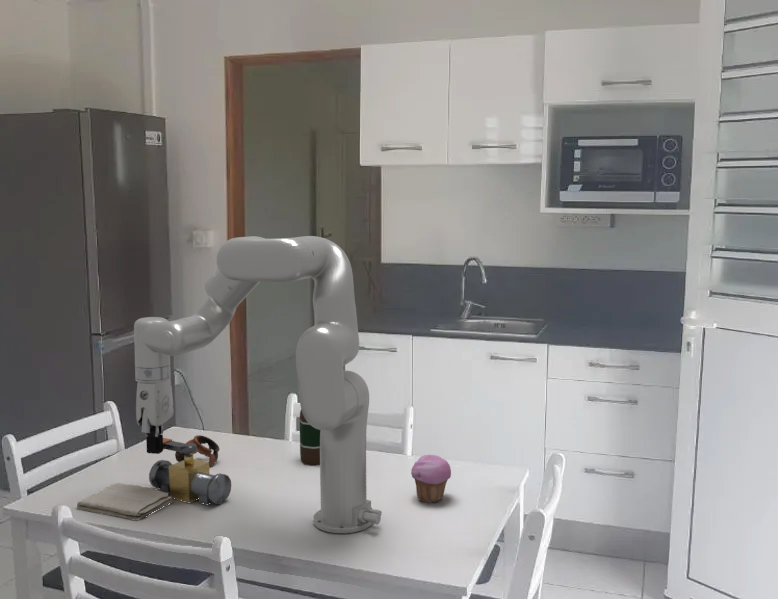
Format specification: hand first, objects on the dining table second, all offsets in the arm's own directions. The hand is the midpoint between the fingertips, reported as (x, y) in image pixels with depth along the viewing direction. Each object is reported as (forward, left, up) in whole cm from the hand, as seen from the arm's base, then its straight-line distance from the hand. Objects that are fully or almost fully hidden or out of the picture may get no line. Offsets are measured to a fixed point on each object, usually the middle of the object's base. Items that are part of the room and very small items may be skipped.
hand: (155, 452), depth 173 cm
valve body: (-7, -3, -10) cm, 13 cm away
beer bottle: (-17, -37, -10) cm, 42 cm away
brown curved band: (+7, -19, -10) cm, 23 cm away
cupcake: (-55, -29, -10) cm, 63 cm away
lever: (-2, -3, 0) cm, 4 cm away
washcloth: (+1, +8, -11) cm, 13 cm away
